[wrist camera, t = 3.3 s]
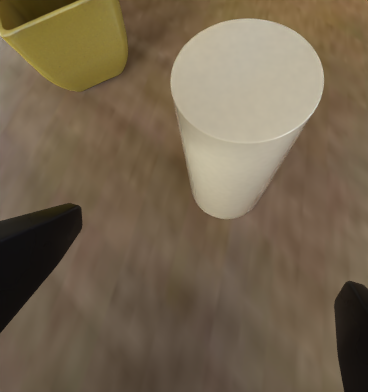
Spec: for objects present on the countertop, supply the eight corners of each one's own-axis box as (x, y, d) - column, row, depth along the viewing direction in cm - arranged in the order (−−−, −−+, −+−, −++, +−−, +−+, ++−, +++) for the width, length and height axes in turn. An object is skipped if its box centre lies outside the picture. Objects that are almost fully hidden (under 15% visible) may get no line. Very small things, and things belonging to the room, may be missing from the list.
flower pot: (44, 54, 29) (-25, -39, 21) (117, 22, 30) (79, -82, 21) (66, 115, 27) (-1, 37, 18) (146, 79, 27) (117, -13, 18)
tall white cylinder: (271, 208, 22) (351, 118, 10) (201, 227, 22) (190, 161, 10) (249, 145, 24) (291, 2, 12) (184, 163, 24) (156, 39, 12)
